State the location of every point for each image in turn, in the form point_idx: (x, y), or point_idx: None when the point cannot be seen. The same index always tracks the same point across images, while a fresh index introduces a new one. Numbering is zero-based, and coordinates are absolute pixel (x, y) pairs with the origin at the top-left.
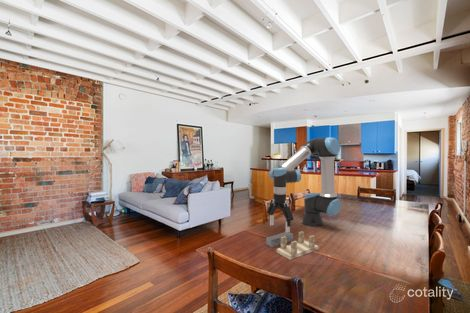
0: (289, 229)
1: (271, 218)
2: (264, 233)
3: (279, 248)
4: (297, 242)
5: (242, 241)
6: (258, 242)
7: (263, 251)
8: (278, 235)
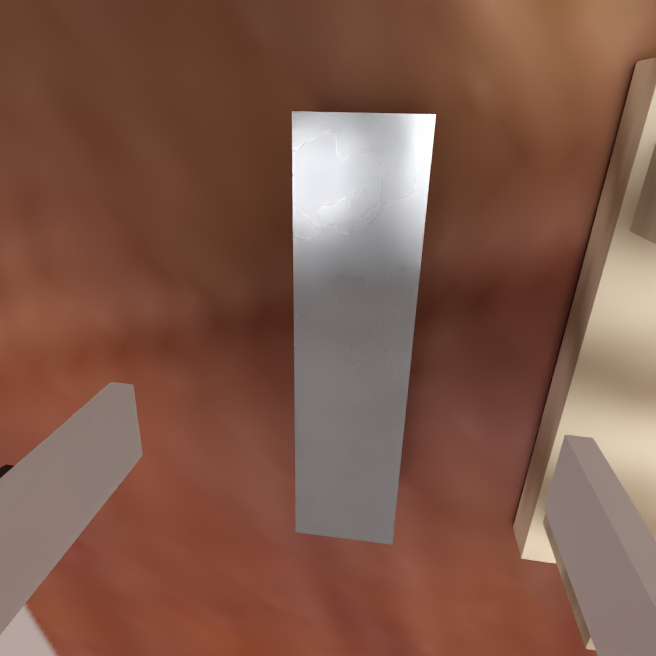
0: (607, 475)
1: (46, 550)
2: (20, 253)
3: (539, 536)
4: (620, 245)
5: (127, 552)
6: (219, 478)
7: (403, 572)
8: (336, 380)
